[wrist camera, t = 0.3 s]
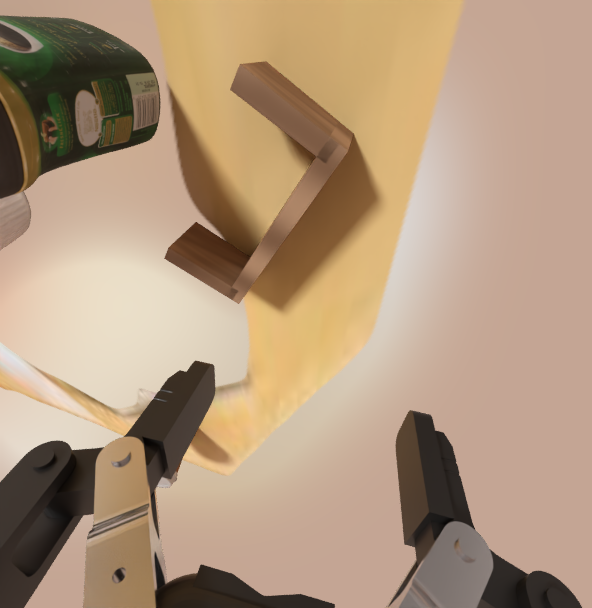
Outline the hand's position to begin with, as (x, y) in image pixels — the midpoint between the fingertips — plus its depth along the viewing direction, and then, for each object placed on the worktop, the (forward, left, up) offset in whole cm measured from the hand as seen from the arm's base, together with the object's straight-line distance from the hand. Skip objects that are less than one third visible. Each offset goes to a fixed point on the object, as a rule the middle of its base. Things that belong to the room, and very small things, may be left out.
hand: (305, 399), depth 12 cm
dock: (+5, -8, -23) cm, 24 cm away
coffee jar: (+5, -23, -23) cm, 33 cm away
